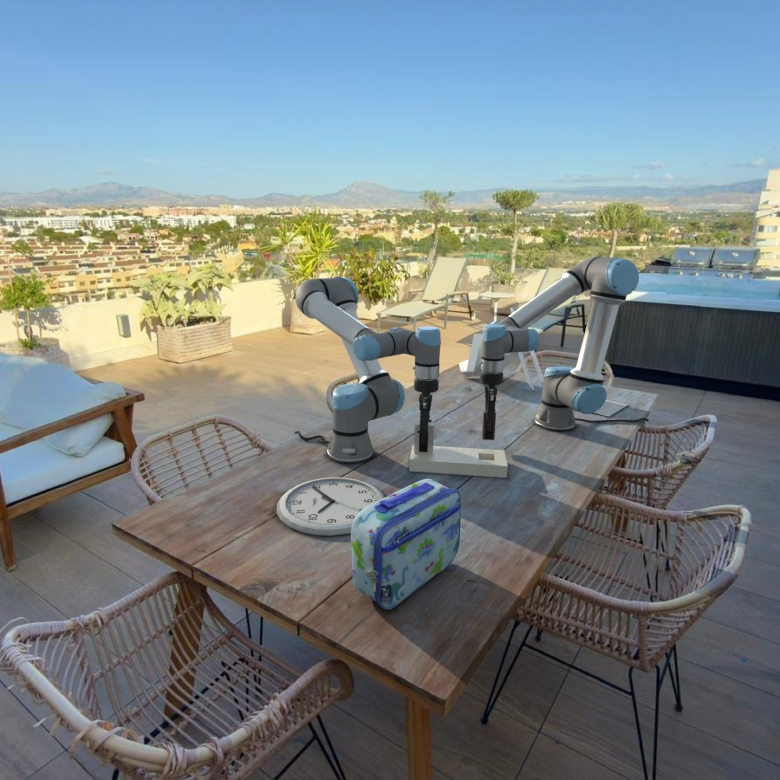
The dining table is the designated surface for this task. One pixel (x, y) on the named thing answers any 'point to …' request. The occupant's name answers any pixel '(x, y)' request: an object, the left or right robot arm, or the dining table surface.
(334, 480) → the wall clock
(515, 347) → the right robot arm
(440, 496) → the lunch box
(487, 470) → the peg board
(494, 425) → the peg
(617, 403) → the invitation card
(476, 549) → the dining table surface
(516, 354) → the white plastic object
